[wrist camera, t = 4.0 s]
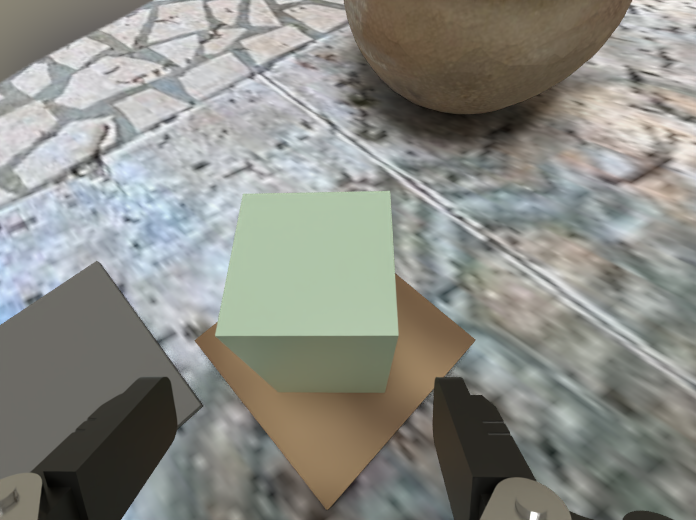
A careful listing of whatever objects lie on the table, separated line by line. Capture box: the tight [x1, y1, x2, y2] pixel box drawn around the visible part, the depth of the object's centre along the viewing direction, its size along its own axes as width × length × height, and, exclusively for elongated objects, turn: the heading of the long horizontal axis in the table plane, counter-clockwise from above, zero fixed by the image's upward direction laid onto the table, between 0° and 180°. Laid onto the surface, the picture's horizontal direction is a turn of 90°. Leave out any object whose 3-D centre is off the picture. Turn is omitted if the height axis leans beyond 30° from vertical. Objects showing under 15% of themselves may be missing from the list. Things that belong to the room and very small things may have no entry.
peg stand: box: [195, 274, 475, 510], centre depth 20 cm, size 12×12×8 cm
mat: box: [0, 261, 203, 479], centre depth 22 cm, size 14×14×1 cm
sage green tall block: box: [215, 191, 399, 393], centre depth 18 cm, size 6×6×10 cm
